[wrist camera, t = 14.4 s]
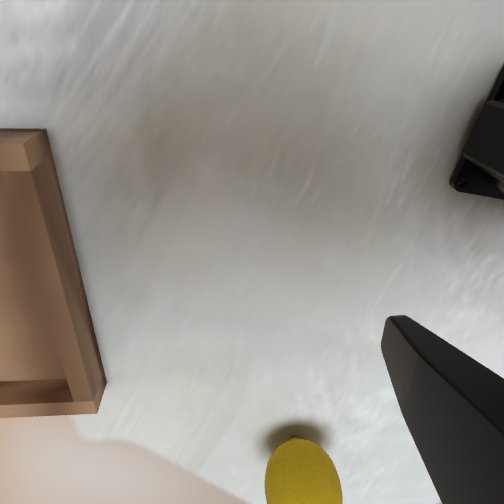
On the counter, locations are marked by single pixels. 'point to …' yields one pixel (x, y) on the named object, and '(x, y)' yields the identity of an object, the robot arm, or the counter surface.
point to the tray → (41, 291)
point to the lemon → (301, 475)
